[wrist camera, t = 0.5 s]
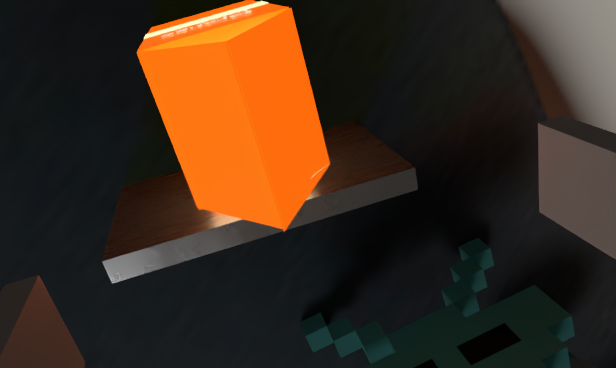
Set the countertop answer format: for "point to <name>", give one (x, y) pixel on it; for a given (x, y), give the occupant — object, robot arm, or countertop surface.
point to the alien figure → (461, 328)
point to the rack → (233, 231)
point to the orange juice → (238, 109)
